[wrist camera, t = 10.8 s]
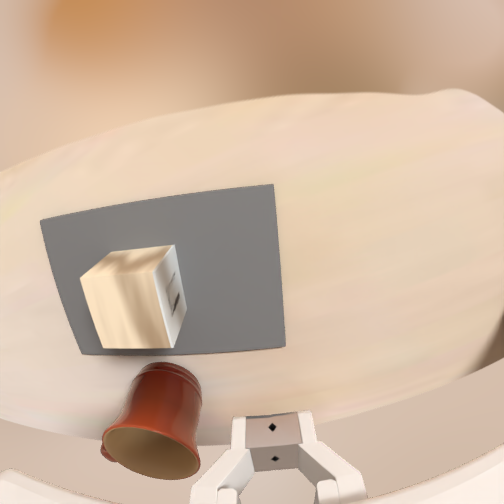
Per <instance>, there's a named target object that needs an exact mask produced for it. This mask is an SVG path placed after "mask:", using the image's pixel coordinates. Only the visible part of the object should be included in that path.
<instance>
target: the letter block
mask: <svg viewBox="0 0 504 504" xmlns="http://www.w3.org/2000/svg"><path fill="white" fill-rule="evenodd" d="M80 281H81V284H82V288H83V291H84V294H85V297H86V301H87V304H88V307H89V310H90V313H91V316H92V319H93V322H94V325H95V328H96V330H97V333H98V336H99V338H100V341H101V344H102V346H103V348H131V349H133V348H174V345H175V342H176V340H177V337H178V334H179V331H180V328H181V325H182V322H183V319H184V316H185V314H186V311H187V306H186V301H185V296H184V291H183V286H182V281H181V276H180V271H179V266H178V260H177V254H176V249H175V245H168V246H159V247H150V248H141V249H132V250H123V251H114V252H110V253H109V254H108V255H107V256H106V257H104V258H103V259H102V260H101V261H99V262H98V263H97V264H96V265H95V266H93V267H92V268H91V269H90V270H89V271H88V272H86V273H85V274H84V275H83V276H82V277H80Z"/></svg>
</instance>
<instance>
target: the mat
mask: <svg viewBox="0 0 504 504" xmlns="http://www.w3.org/2000/svg"><path fill="white" fill-rule="evenodd" d="M40 225H41V229H42V234H43V238H44V242H45V246H46V250H47V254H48V258H49V262H50V265H51V269H52V272H53V276H54V279H55V282H56V286H57V289H58V292H59V295H60V298H61V301H62V304H63V307H64V310H65V312H66V315H67V318H68V321H69V323H70V326H71V328H72V331H73V334H74V336H75V339H76V341H77V344H78V346H79V348H80V351H81V353H82V354H95V355H178V354H201V353H218V352H233V351H245V350H256V349H266V348H276V347H285V346H286V342H285V326H284V310H283V295H282V281H281V267H280V254H279V241H278V229H277V217H276V206H275V194H274V185H273V184H269V185H258V186H248V187H239V188H230V189H221V190H213V191H205V192H197V193H190V194H182V195H175V196H168V197H162V198H155V199H149V200H142V201H136V202H130V203H124V204H119V205H113V206H107V207H102V208H96V209H91V210H86V211H81V212H76V213H71V214H66V215H61V216H57V217H52V218H47V219H43V220H40ZM168 245H175V249H176V254H177V260H178V266H179V271H180V276H181V281H182V286H183V291H184V296H185V301H186V306H187V311H186V314H185V316H184V319H183V322H182V325H181V328H180V331H179V334H178V337H177V340H176V342H175V345H174V348H133V349H131V348H103V346H102V344H101V341H100V338H99V336H98V333H97V330H96V328H95V325H94V322H93V319H92V316H91V313H90V310H89V307H88V304H87V301H86V297H85V294H84V291H83V288H82V284H81V281H80V277H82V276H83V275H84V274H85V273H86V272H88V271H89V270H90V269H91V268H92V267H93V266H95V265H96V264H97V263H98V262H99V261H101V260H102V259H103V258H104V257H106V256H107V255H108V254H109V253H110V252H114V251H123V250H132V249H141V248H150V247H159V246H168Z"/></svg>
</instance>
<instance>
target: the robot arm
mask: <svg viewBox="0 0 504 504" xmlns="http://www.w3.org/2000/svg"><path fill="white" fill-rule="evenodd" d="M293 468H298V469H299V470H300V471H301V472H302V473H303V474H304V476H305V477H306V478H307V479H308V480H309V481H310V482H311V483H312V484H313V485H314V486H315V487H316V493H315V500H314V504H504V443H503V444H501V445H499V446H498V447H496V448H494V449H492V450H490V451H489V452H487V453H485V454H483V455H482V456H479V457H477V458H475V459H473V460H472V461H470V462H467V463H465V464H463V465H461V466H459V467H457V468H454V469H452V470H450V471H448V472H446V473H443V474H441V475H438V476H436V477H433V478H431V479H428V480H426V481H423V482H420V483H417V484H415V485H412V486H409V487H406V488H403V489H400V490H397V491H393V492H390V493H387V494H383V495H380V496H376V497H372V498H368V497H367V493H366V489H365V485H364V482H363V479H362V475H361V472H360V471H358V470H357V469H356V468H354V467H353V466H352V465H350V464H349V463H348V462H347V461H345V460H344V459H343V458H341V457H340V456H339V455H338V454H336V453H335V452H334V451H333V450H331V449H330V448H329V447H328V446H326V445H325V444H324V443H323V442H321V441H317V438H316V433H315V428H314V423H313V418H312V413H311V411H310V410H307V411H299V412H290V413H282V414H273V415H264V416H245V417H233V419H232V430H231V447H230V449H227V450H226V451H225V452H224V453H223V454H222V455H221V456H220V457H219V459H218V460H217V461H216V462H215V463H214V464H213V465H212V466H211V467H210V468H209V469H208V471H206V473H205V474H204V475H203V476H202V477H201V478H200V479H199V480H198V481H197V482H196V483H195V484H194V485H193V486H192V489H191V496H190V503H189V504H241V501H240V499H239V495H240V494H241V492H242V491H243V490H244V488H245V487H246V485H247V484H248V482H249V481H250V479H251V478H252V477H253V475H254V473H255V472H258V471H270V470H281V469H293ZM0 504H119V503H114V502H110V501H106V500H102V499H98V498H95V497H91V496H87V495H84V494H80V493H77V492H74V491H71V490H68V489H65V488H61V487H59V486H56V485H53V484H50V483H48V482H45V481H42V480H40V479H37V478H35V477H32V476H30V475H28V474H25V473H23V472H21V471H19V470H16V469H12V468H11V469H7V470H4V471H2V472H0Z"/></svg>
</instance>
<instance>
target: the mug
mask: <svg viewBox="0 0 504 504" xmlns="http://www.w3.org/2000/svg"><path fill="white" fill-rule="evenodd" d="M201 406H202V394H201V387H200V384H199V382H198V380H197V379H196V377H195V376H194V375H193V374H192V373H191V372H189V371H188V370H187V369H185V368H183V367H181V366H179V365H176V364H173V363H168V362H155V363H151V364H149V365H147V366H145V367H144V368H143V369H142V370H141V371H140V373H139V374H138V375H137V377H136V378H135V379H134V380H133V382H132V386H131V388H130V391H129V393H128V396H127V398H126V401H125V404H124V407H123V410H122V412H121V414H120V415H119V417H118V418H117V419H116V420H115V421H114V422H113V423H112V424H111V425H110V426H109V427H108V428H107V429H106V430H105V431H104V433H103V436H102V442H103V443H102V445H101V453H102V455H103V456H104V457H105V458H106V459H108V460H109V461H111V462H118V463H120V464H121V465H123V466H124V467H126V468H128V469H130V470H132V471H134V472H136V473H139V474H142V475H145V476H148V477H152V478H157V479H165V480H178V479H184V478H188V477H190V476H192V475H194V474H195V473H196V472H197V471H198V470H199V468H200V458H199V454H198V450H197V445H196V430H197V426H198V421H199V416H200V409H201Z"/></svg>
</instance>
